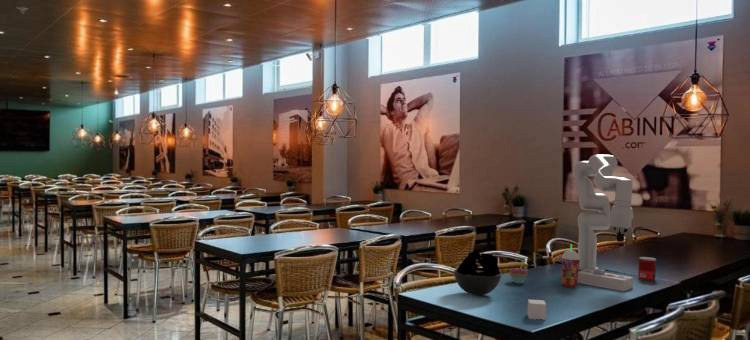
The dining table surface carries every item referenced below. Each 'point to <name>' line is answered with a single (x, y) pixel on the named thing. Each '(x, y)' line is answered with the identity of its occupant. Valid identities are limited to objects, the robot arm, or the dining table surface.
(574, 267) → the smoothie
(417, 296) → the dining table surface
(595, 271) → the key slate
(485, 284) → the coal bowl
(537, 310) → the grey cube
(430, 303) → the dining table surface
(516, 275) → the cupcake
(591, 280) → the keypad
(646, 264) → the canned food
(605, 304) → the dining table surface
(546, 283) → the dining table surface
